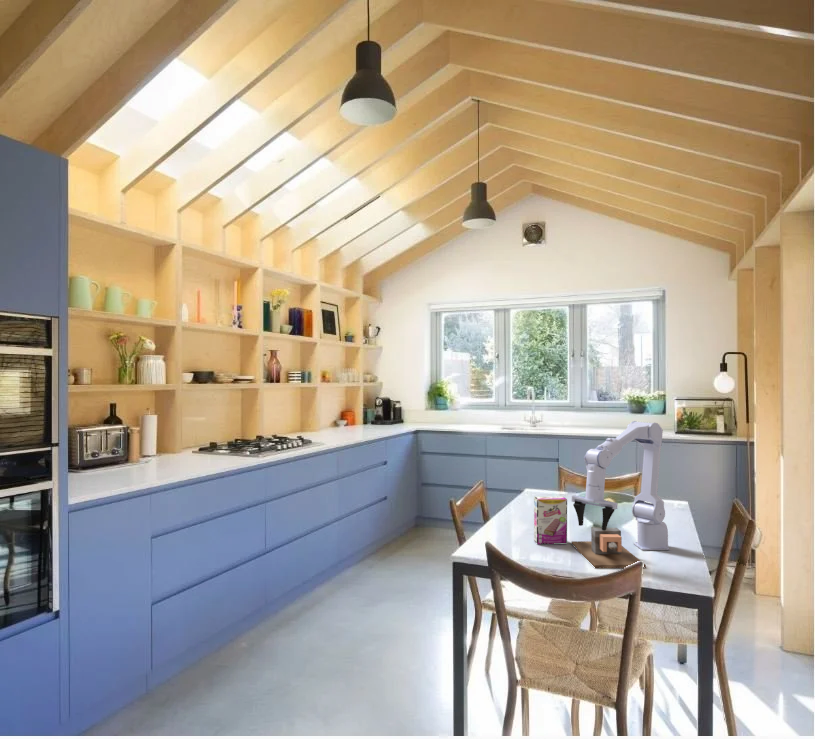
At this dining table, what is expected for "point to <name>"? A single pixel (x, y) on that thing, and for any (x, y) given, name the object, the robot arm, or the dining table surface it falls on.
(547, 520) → the candy bar box
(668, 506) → the dining table surface
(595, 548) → the bearing stand
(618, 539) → the spacer
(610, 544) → the shaft
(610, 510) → the robot arm
